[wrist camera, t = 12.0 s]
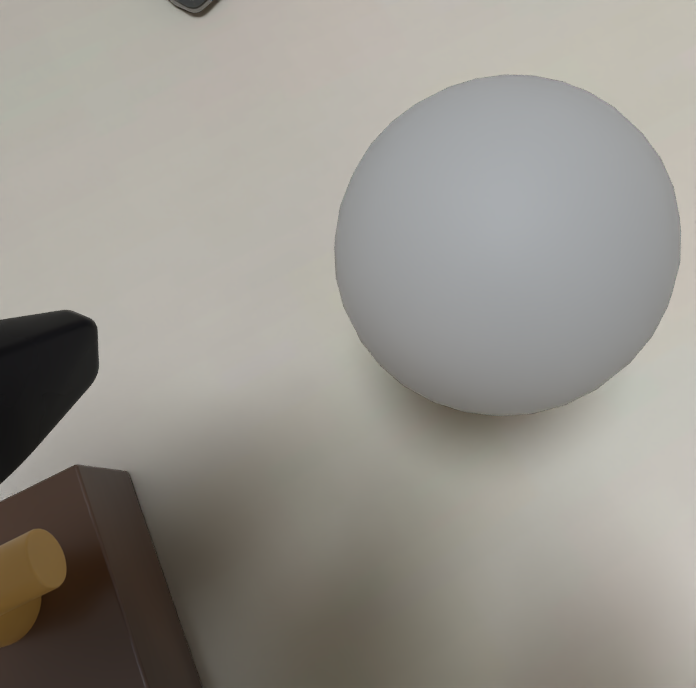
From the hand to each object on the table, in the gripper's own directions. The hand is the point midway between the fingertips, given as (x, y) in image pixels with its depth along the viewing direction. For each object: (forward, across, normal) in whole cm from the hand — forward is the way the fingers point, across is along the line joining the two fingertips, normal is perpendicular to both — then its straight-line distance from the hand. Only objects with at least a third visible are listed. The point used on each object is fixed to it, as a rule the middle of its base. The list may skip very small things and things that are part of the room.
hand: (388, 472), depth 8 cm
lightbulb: (+11, 0, +5) cm, 12 cm away
